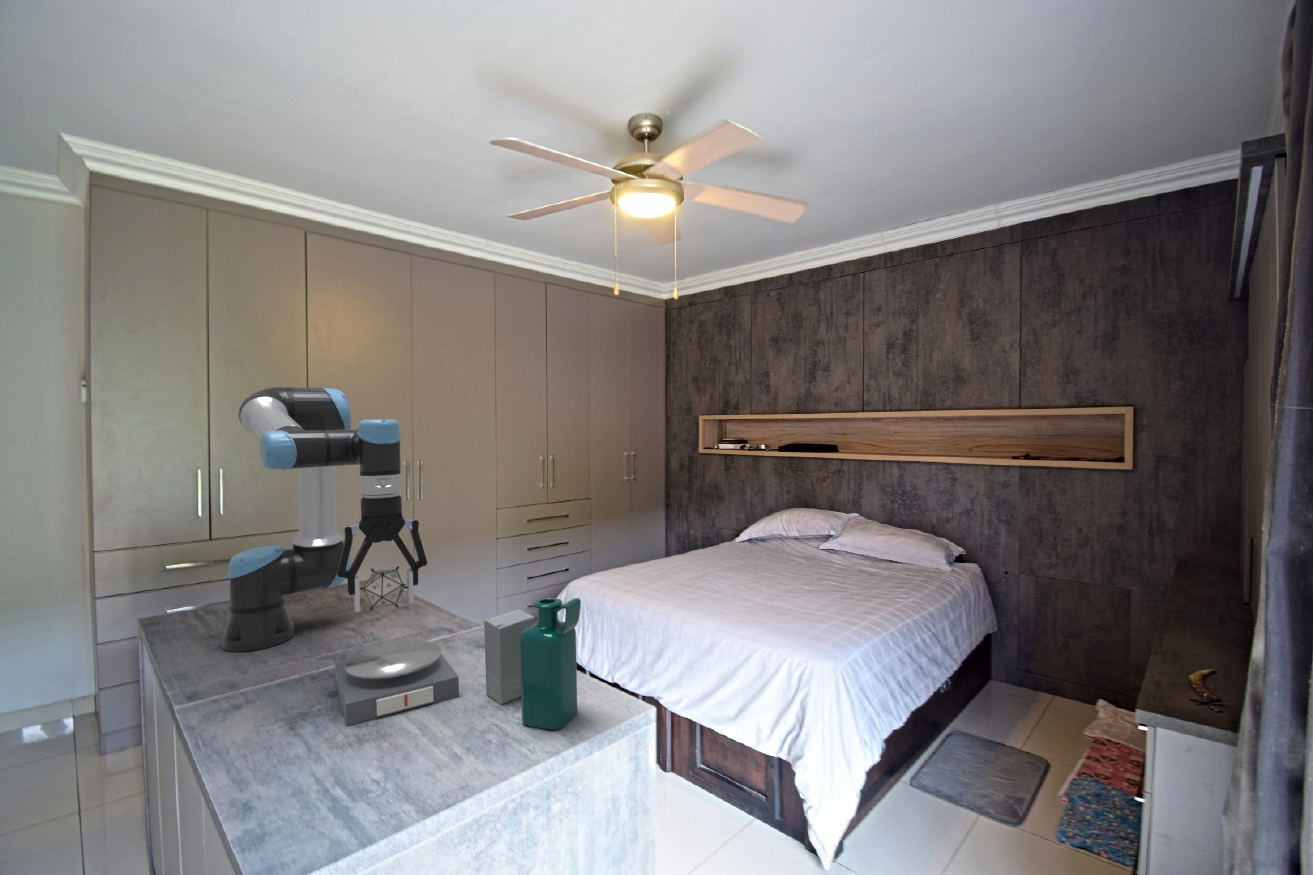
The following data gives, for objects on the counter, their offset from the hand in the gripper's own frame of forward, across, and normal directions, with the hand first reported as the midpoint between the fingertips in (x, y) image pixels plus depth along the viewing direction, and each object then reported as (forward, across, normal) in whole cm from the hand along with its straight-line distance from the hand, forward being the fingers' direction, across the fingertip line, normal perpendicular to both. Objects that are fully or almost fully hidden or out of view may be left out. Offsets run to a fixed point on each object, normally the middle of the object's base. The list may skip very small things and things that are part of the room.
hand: (384, 605), depth 120 cm
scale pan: (+13, +2, 0) cm, 13 cm away
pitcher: (+18, +24, -29) cm, 42 cm away
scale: (+18, +2, 0) cm, 18 cm away
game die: (+1, 0, 0) cm, 1 cm away
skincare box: (+18, +21, -15) cm, 32 cm away
